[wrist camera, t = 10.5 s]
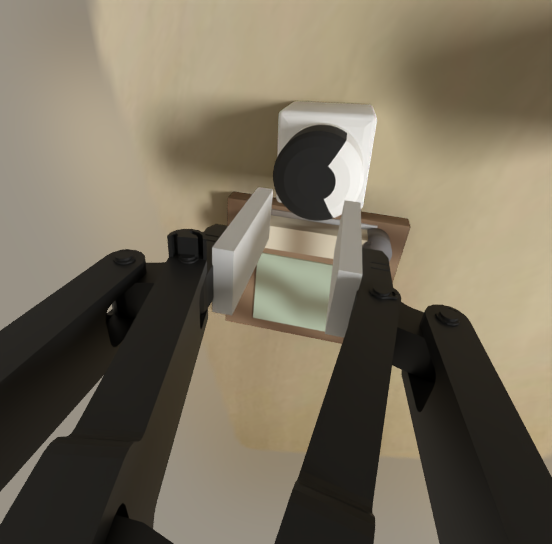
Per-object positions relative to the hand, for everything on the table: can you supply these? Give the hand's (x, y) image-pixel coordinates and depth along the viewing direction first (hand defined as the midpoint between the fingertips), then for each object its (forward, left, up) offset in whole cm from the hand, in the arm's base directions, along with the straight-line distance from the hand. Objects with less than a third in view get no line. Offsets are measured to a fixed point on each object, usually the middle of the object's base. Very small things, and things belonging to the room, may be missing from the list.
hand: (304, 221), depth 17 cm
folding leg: (+8, 0, -16) cm, 18 cm away
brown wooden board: (+14, 0, -18) cm, 23 cm away
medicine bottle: (0, 0, -19) cm, 19 cm away
